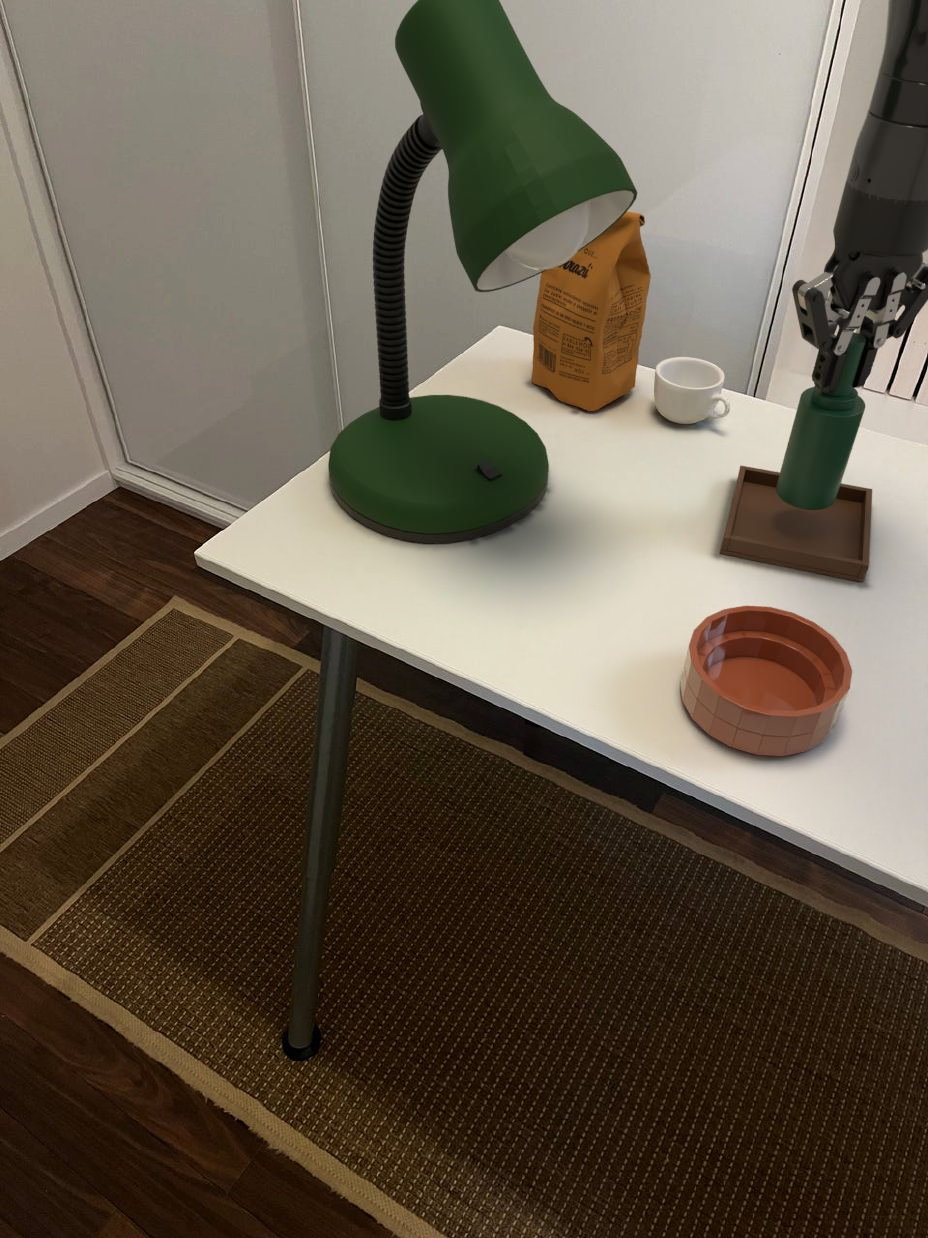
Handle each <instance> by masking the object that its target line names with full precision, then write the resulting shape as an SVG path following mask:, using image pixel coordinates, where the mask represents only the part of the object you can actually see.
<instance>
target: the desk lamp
mask: <svg viewBox="0 0 928 1238" xmlns="http://www.w3.org/2000/svg"><path fill="white" fill-rule="evenodd" d="M394 47H395V52H396V54H397V56H398V59H399V61H400V63H401V66H402V68H403V69H404V71H405V73H406V75H407V77H408V80H409V81H410V84H411V86H412V88H413V89H414V92H415V93H416V96H417V98H418V100H419V105H420V109H421V112H422V114H421V115H419V116H418V117H417V118H416V119H415V120H414V121H413V122H412V124H411V125H410V126H409V128H408V129H407V130H406V131H405V133H404V134H403V135H402V137H401V139H400V140H399V141H398V143H397V145H396V146H395V148H394V150H393V152H392V154H391V156H390V157H389V160H388V163H387V166H386V169H385V171H384V176H383V178H382V180H381V181H382V182H381V186H380V191H379V194H378V201H377V208H376V212H375V214H376V215H375V218H374V219H375V223H374V227H373V240H372V263H373V264H372V271H373V272H372V278H373V295H374V309H375V325H376V329H375V330H376V339H377V340H376V344H377V359H378V374H379V375H378V377H379V387H380V388H379V391H380V398H379V400H378V407H376V408H374V409H372V410H369V411H367V412H365V413H363V414H361V415H360V416H358V417H357V418H355V419H354V420H352V421H350V423H348V424H347V425H346V426H345V427H344V428H343V429H342V430H341V431H340V432H339V433H338V434H337V436H336V437H335V439H334V441H333V443H332V444H331V446H330V449H329V457H328V465H327V466H328V467H327V469H328V477H329V485H330V488H331V492H332V495H333V496H334V498H335V500H336V501H337V503H338V504H339V506H340V507H341V508H342V509H343V510H344V511H345V512H346V513H347V514H348V515H349V516H350V517H351V518H353V519H354V520H356V521H358V522H359V523H361V524H362V525H363V526H365V527H367V528H369V529H371V530H374V531H376V532H378V533H380V534H383V535H385V536H388V537H391V538H396V539H399V540H403V541H407V542H414V543H415V542H416V543H421V544H422V543H423V544H449V543H455V542H461V541H469V540H474V539H476V538H480V537H484V536H487V535H491V534H493V533H496V532H498V531H500V530H502V529H505V528H507V527H509V526H511V525H513V524H514V523H516V522H518V521H519V520H521V519H522V518H524V517H526V516H527V515H528V514H529V513H531V511H532V510H534V509H535V508H536V507H537V506H538V505H539V504H540V502H541V501H542V499H543V497H544V496H545V494H546V492H547V491H546V490H547V487H548V483H549V472H550V463H549V457H548V452H547V447H546V445H545V443H544V442H543V440H542V439H541V437H540V436H539V434H538V432H537V431H536V430H535V429H533V427H532V426H531V425H529V423H528V422H527V421H525V420H524V419H522V418H521V417H519V416H518V415H516V414H515V413H513V412H511V411H509V410H507V409H505V408H504V407H501V406H499V405H497V404H494V403H491V402H488V401H486V400H483V399H478V398H473V397H469V396H462V395H454V394H453V395H452V394H428V395H421V396H419V395H418V396H413V397H410V387H409V386H410V383H409V382H410V381H409V361H408V359H409V358H408V356H409V354H408V339H407V338H408V332H407V331H408V330H407V310H406V309H407V307H406V306H407V305H406V288H405V287H406V286H405V285H406V281H405V279H406V278H405V277H406V275H405V260H406V259H405V255H406V251H405V250H406V241H407V234H408V228H409V221H410V215H411V212H412V206H413V201H414V199H415V194H416V191H417V188H418V186H419V183H420V180H421V178H422V177H423V174H424V173H425V171H426V169H427V168H428V167H429V166H430V163H431V162H432V161H433V160H434V159H435V157H437V155H438V154H440V152H441V151H442V152H443V155H444V157H445V161H446V164H447V171H448V180H447V199H448V208H449V216H450V222H451V229H452V234H453V240H454V246H455V251H456V255H457V257H458V260H459V261H460V264H461V265H462V267H463V270H464V271H465V273H466V275H467V277H468V279H469V281H470V283H471V285H472V287H473V289H474V291H475V292H478V293H491V292H494V291H499V290H502V289H506V288H509V287H511V286H514V285H517V284H519V283H522V282H525V281H526V280H530V279H532V278H534V277H536V276H537V275H541V273H542V272H544V271H546V270H548V269H554V268H557V267H559V266H561V265H562V264H564V263H566V262H567V261H569V260H571V259H572V258H573V257H574V256H575V254H576V253H577V252H579V251H580V250H581V249H583V248H584V247H586V246H587V245H589V244H590V243H591V242H593V241H594V240H595V239H597V238H598V237H599V236H600V235H602V234H603V233H604V232H605V231H607V230H608V229H609V228H610V227H611V226H612V225H614V224H615V223H616V222H617V221H618V220H619V219H620V218H621V217H622V216H623V215H624V214H625V213H626V212H629V210H630V209H631V207H632V206H633V205H634V203H635V201H636V200H637V197H638V190H637V188H636V186H635V184H634V182H633V180H632V178H631V176H630V174H629V172H628V169H627V168H626V166H625V164H624V162H623V160H622V158H621V157H620V155H619V154H618V153H617V152H616V151H615V149H614V148H612V146H611V145H609V143H608V142H606V140H605V139H603V137H601V135H600V134H599V133H597V131H596V130H594V129H593V128H592V127H591V126H590V125H589V123H587V122H586V121H585V120H584V119H582V118H581V116H579V115H578V114H577V113H575V112H574V111H573V110H571V109H570V108H568V107H566V106H565V105H562V104H560V103H559V102H558V101H556V100H555V99H554V98H553V97H552V96H551V94H550V93H549V91H548V90H547V88H546V87H545V85H544V83H543V81H542V80H541V79H540V76H539V75H538V73H537V71H536V69H535V68H534V65H533V64H532V62H531V60H530V58H529V57H528V56H529V55H528V54H527V52H526V51H525V49H524V46H523V44H522V43H521V41H520V39H519V37H518V35H517V33H516V31H515V29H514V27H513V25H512V23H511V21H510V19H509V17H508V15H507V13H506V11H505V9H504V7H503V5H502V3H501V0H417V1H415V3H414V4H413V5H412V6H411V7H410V9H408V11H407V12H406V14H405V15H404V17H403V18H402V19H401V21H400V24H399V25H398V27H397V30H396V32H395V37H394Z"/></svg>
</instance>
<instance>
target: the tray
mask: <svg viewBox="0 0 928 1238" xmlns="http://www.w3.org/2000/svg"><path fill="white" fill-rule="evenodd" d="M779 475H780V471H774V470H768V469H763V468H757V467H751V466H747V465H740V466H739V470H738V474H737V478H736V482H735V487H734V491H733V495H732V500H731V503H730V507H729V508H730V509H729V512H728V517H727V520H726V525H725V529H724V533H723V538H722V541H721V545H720V546H721V547H720V551H719V554H721V555H726V556H732V557H736V558H741V559H746V560H751V561H756V562H761V563H765V564H769V565H770V564H771V565H775V566H781V567H785V568H791V569H795V570H801V571H804V572H810V573H815V574H820V575H825V576H829V577H835V578H839V579H845V580H849V581H854V582H860V583H864V581H865V578H866V575H867V573H868V570H869V567H870V552H871V550H870V549H871V530H872V527H871V526H872V509H873V508H872V506H873V505H872V504H873V488H868V487H862V486H857V485H851V484H846V483H841V485H840V488H839V491H838V494H837V497H836V500H835V502H834V503H833V504H832V505H831V506H830V507H827V508H825V509H820V510H807V509H801V508H797V507H794V506H792V505H790V504H788V503H786V502H785V501H783V500H782V499H781V498H780V497H779V496H778V494H777V492H776V486H777V482H778V478H779Z"/></svg>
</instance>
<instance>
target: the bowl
mask: <svg viewBox="0 0 928 1238" xmlns="http://www.w3.org/2000/svg"><path fill="white" fill-rule="evenodd" d="M686 652H687V653H686V657H685V661H684V665H683V670H682V675H681V679H680V682H679V683H680V685H679V687H680V693H681V701H682V704H683V705H684V707H685V709H686V710H687V712H688V714H689V715H690V717H691V719H692V720H693V721H694V722H695V723H696V724H697V725H698V726H699V727H700V728H701V729H702V730H704V732H705V733H707V734H708V735H709V736H710V737H712V738H714V739H715V740H717V741H719V742H721V743H723V744H725V745H726V746H728V747H731V748H733V749H736V750H739V751H743V752H745V753H750V754H753V755H758V756H772V757H773V756H774V757H785V756H790V755H794V754H800V753H804V752H805V753H806V752H808V751H809V750H812V749H813V748H815V747H817V746H818V745H820V744H822V743H824V741H826V739H827V738H828V736H829V735H830V734H831V732H832V731H833V729H834V728H835V726H836V725H837V724H836V723H837V721H838V718H839V716H840V714H841V711H842V709H843V706H844V703H845V701H846V698H847V697H848V694H849V691H850V688H851V684H852V676H853V669H852V666H851V662H850V659H849V657H848V654H847V652H846V651H845V649H844V648H843V647H842V645H841V644H840V643H839V641H838V640H837V639H836V637H835V636H833V635H832V634H831V633H830V632H828V631H826V630H825V629H824V628H823V627H821V626H820V625H819V624H817V623H816V622H814V621H812V620H810V619H809V618H805V617H803V616H802V615H800V614H797V613H795V612H792V611H788V610H784V609H780V608H776V607H771V606H763V605H762V606H760V605H741V606H735V607H729V608H723V609H721V610H719V611H717V612H715V613H713V614H711V615H708V616H706V617H705V618H704V619H703V620H702V621H701V622H700V623H699V624H698V625H697V626H696V627H695V628H694V630H693V632H692V634H691V638H690V640H689V643H688V647H687V651H686Z"/></svg>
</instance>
